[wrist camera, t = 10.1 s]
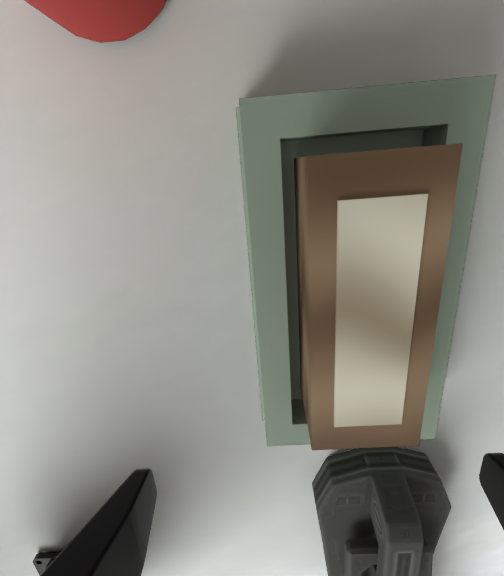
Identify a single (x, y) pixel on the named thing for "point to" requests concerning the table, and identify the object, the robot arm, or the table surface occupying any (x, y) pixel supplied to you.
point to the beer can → (101, 16)
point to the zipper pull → (379, 512)
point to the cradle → (282, 221)
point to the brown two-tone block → (370, 289)
